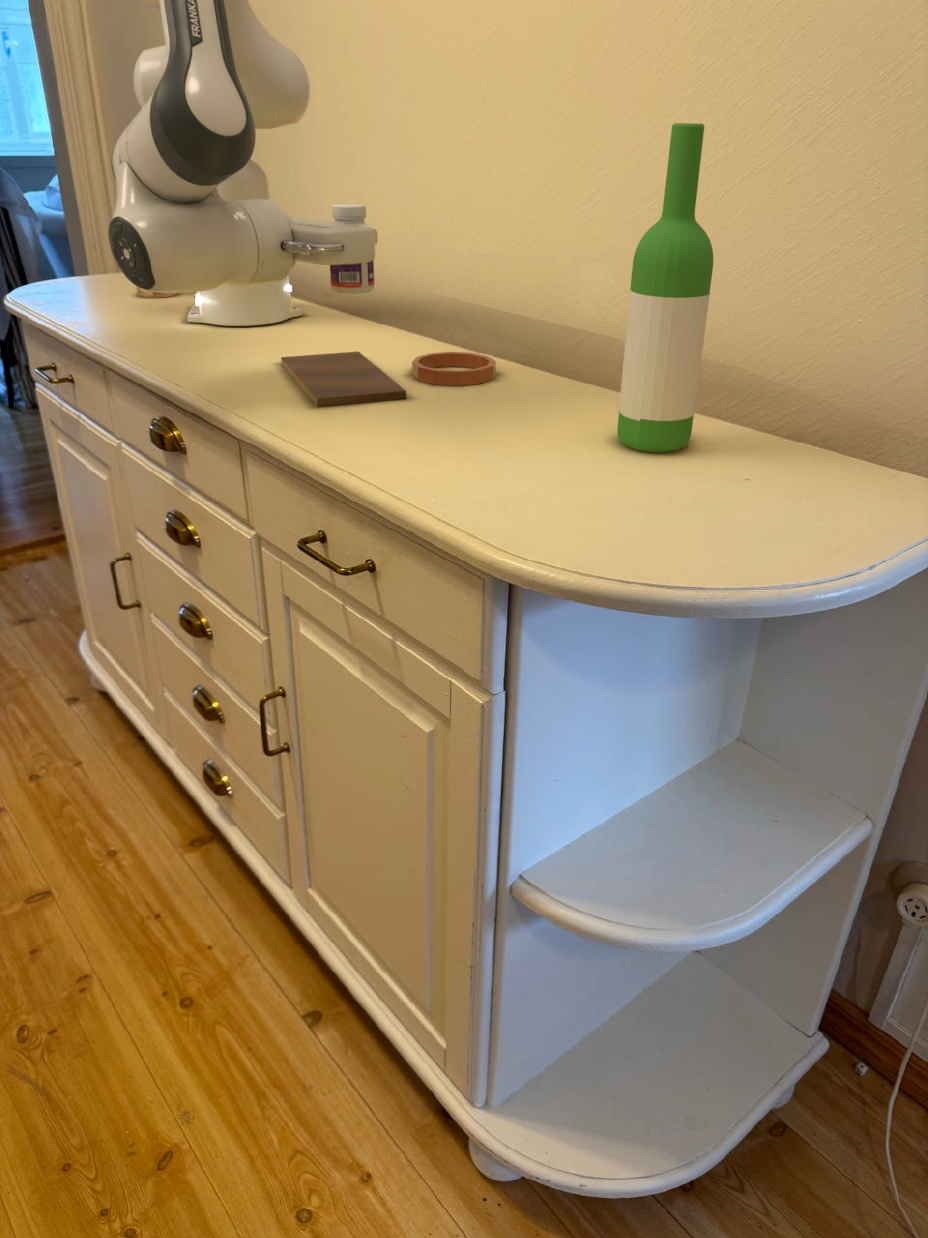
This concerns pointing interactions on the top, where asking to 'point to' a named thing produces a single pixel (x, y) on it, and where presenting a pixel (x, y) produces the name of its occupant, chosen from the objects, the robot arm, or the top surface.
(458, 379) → the ring
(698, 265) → the wine bottle
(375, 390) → the board
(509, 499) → the top surface
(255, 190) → the robot arm
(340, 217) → the pill bottle
